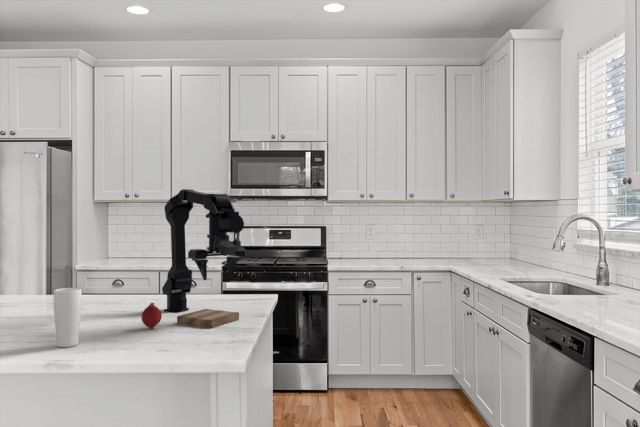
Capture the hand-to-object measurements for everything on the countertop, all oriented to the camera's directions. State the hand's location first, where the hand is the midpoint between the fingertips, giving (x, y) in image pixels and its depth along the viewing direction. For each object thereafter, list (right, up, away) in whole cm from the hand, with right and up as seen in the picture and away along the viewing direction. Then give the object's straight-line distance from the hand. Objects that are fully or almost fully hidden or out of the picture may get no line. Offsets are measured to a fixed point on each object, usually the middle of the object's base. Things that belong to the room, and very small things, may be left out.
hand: (217, 279), depth 169 cm
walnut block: (-2, -14, -2) cm, 15 cm away
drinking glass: (-34, -14, -32) cm, 49 cm away
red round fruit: (-18, -14, -12) cm, 26 cm away
